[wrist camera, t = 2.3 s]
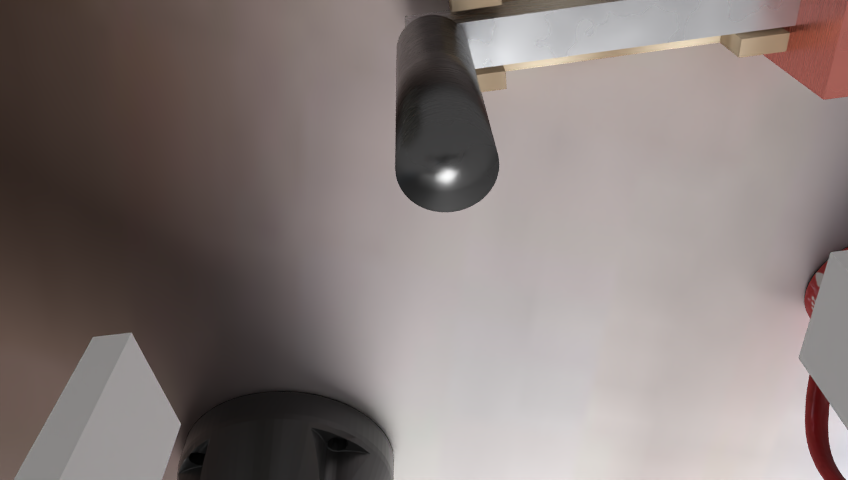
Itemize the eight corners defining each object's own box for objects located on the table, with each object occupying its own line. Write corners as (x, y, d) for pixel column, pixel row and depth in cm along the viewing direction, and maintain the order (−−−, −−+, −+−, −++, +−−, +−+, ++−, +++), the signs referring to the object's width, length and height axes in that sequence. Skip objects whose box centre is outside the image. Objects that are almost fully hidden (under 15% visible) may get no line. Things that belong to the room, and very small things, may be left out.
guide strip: (456, 69, 31) (461, 94, 28) (446, -27, 28) (450, -9, 26) (754, 29, 30) (786, 51, 28) (772, -74, 27) (808, -60, 25)
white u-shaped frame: (406, 95, 31) (410, 257, 20) (386, -36, 28) (378, 76, 17) (780, 44, 30) (987, 186, 20) (808, -98, 27) (1078, -19, 16)
